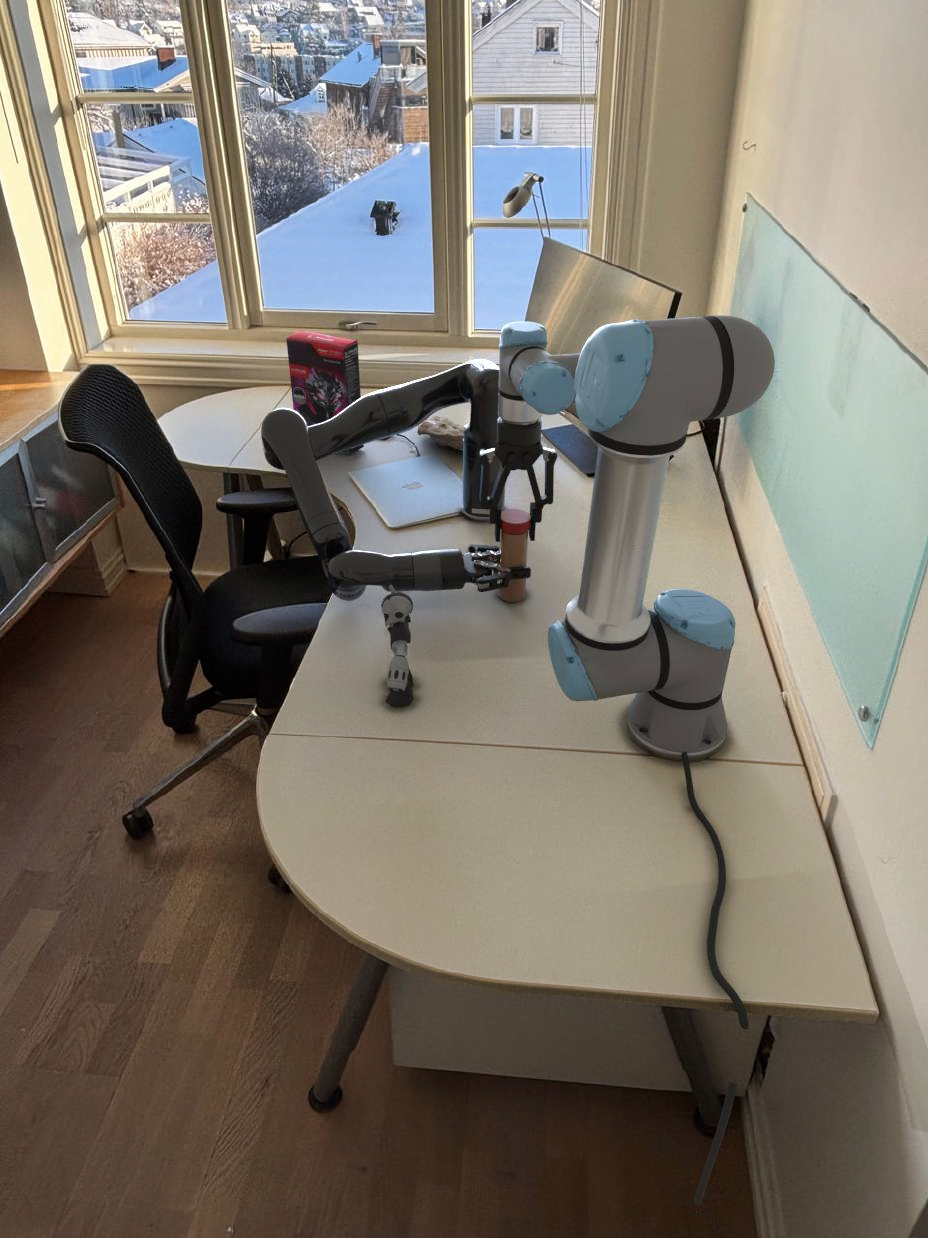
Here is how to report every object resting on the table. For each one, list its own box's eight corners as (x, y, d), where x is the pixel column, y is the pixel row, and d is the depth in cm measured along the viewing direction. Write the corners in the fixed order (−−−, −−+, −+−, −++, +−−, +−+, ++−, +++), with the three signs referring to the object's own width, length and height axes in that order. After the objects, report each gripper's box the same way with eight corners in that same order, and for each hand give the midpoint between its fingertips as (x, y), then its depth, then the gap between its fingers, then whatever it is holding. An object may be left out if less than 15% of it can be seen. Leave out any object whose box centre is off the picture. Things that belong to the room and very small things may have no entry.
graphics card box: (294, 443, 234) (283, 336, 218) (310, 434, 239) (300, 328, 224) (350, 457, 227) (343, 347, 212) (366, 447, 232) (360, 339, 217)
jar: (526, 601, 174) (530, 525, 165) (500, 602, 173) (503, 526, 164) (522, 587, 178) (526, 512, 169) (497, 588, 177) (499, 513, 168)
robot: (415, 731, 142) (412, 624, 131) (384, 732, 142) (378, 624, 131) (414, 656, 158) (412, 555, 147) (386, 656, 158) (381, 555, 147)
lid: (529, 518, 170) (530, 508, 169) (532, 534, 165) (532, 523, 164) (498, 519, 170) (498, 508, 168) (499, 534, 165) (500, 523, 164)
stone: (401, 440, 228) (406, 416, 226) (420, 431, 242) (425, 408, 239) (481, 464, 225) (487, 440, 222) (495, 454, 238) (501, 431, 236)
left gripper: (432, 568, 178) (519, 562, 180) (441, 608, 166) (534, 601, 168) (432, 533, 174) (521, 528, 176) (441, 572, 162) (536, 566, 164)
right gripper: (570, 408, 159) (561, 526, 172) (463, 410, 158) (462, 529, 171) (578, 424, 153) (568, 546, 166) (466, 426, 152) (465, 549, 165)
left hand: (527, 564), depth 172 cm, fingers closed on jar, 5 cm apart
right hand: (514, 537), depth 169 cm, fingers closed on lid, 6 cm apart
